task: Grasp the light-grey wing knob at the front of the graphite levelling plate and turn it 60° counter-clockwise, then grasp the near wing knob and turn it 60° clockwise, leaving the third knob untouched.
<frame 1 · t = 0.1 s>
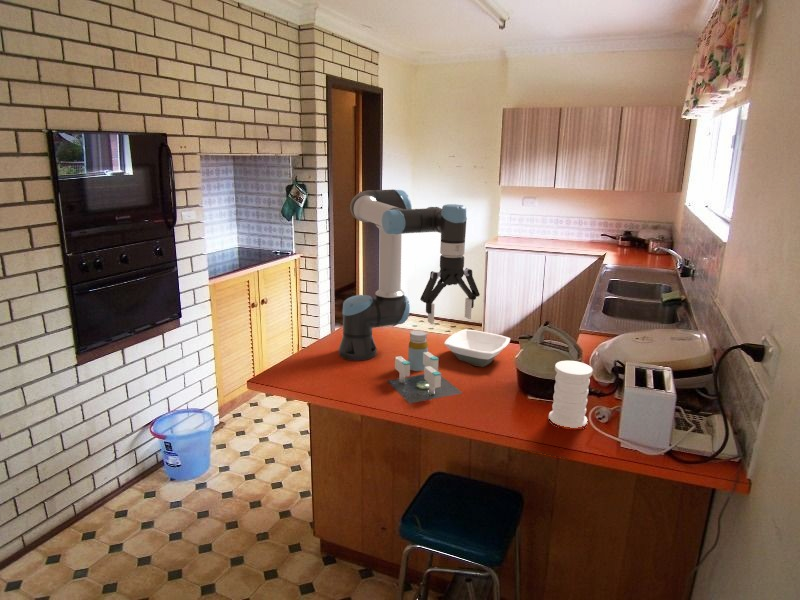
hand: (449, 320, 178), 28 cm above the worktop, fingers open, 13 cm apart
knob far: (430, 365, 198), point 6 cm above the worktop, hinge at 0.0°
bowl: (476, 361, 219), on the worktop
knob front: (432, 381, 185), point 6 cm above the worktop, hinge at 0.0°
decorative container: (567, 421, 172), on the worktop
bottle: (417, 370, 208), on the worktop
levelling plate: (423, 389, 192), on the worktop
knob near: (402, 370, 193), point 6 cm above the worktop, hinge at 0.0°
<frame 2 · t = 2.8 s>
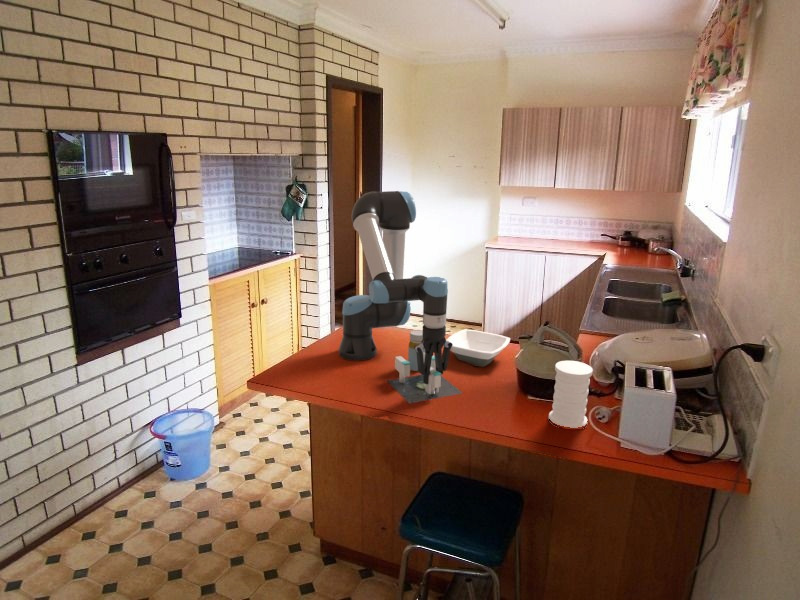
hand: (431, 391, 186), 2 cm above the worktop, fingers closed on knob front, 2 cm apart
knob front: (432, 381, 185), point 6 cm above the worktop, hinge at 0.0°, touching gripper
everything else where it was.
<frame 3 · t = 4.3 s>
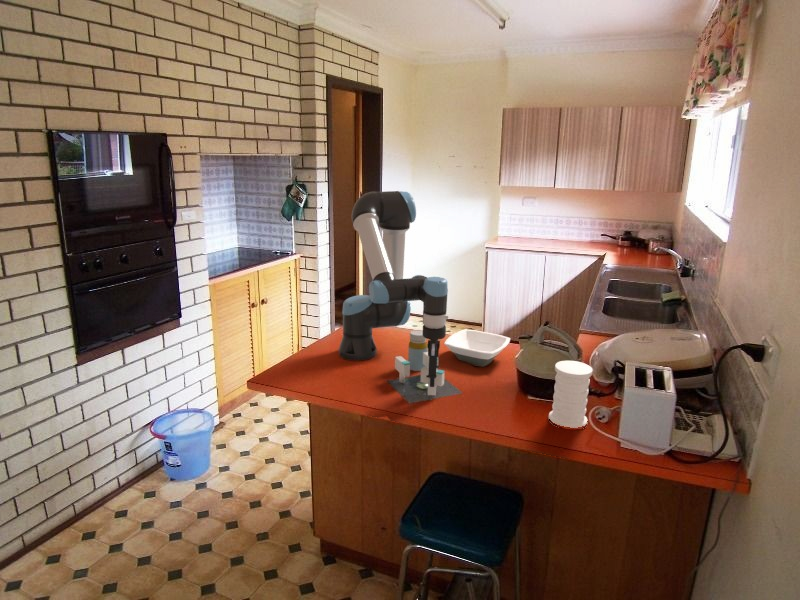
hand: (432, 390, 186), 2 cm above the worktop, fingers open, 5 cm apart
knob front: (432, 381, 185), point 6 cm above the worktop, hinge at 39.6°
everything else where it was.
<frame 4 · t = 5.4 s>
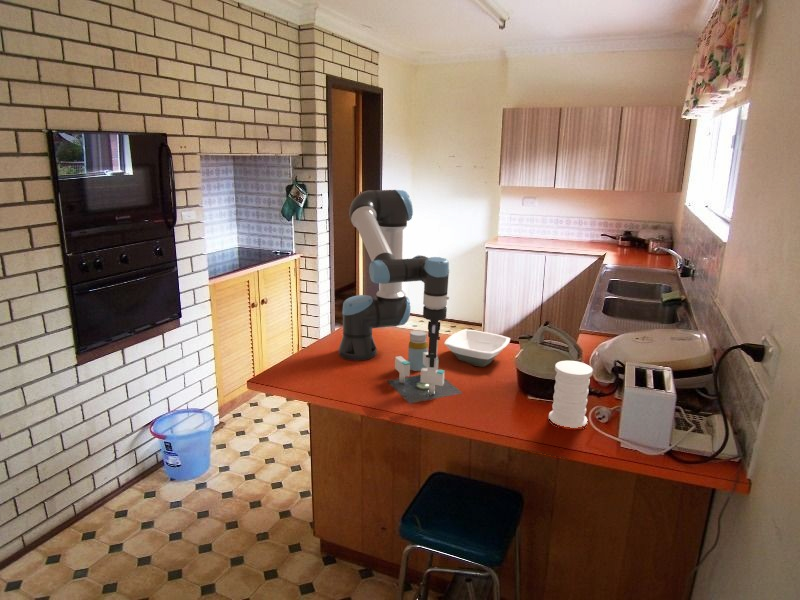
hand: (432, 366, 184), 11 cm above the worktop, fingers open, 13 cm apart
knob front: (432, 381, 185), point 6 cm above the worktop, hinge at 45.5°
everything else where it was.
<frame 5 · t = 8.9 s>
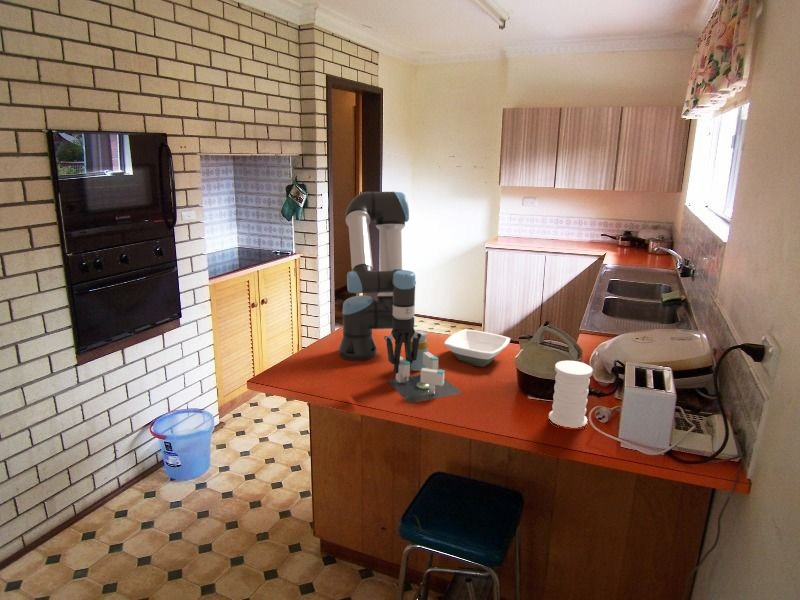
hand: (402, 380, 194), 2 cm above the worktop, fingers closed on knob near, 2 cm apart
knob front: (432, 381, 185), point 6 cm above the worktop, hinge at 46.4°
knob near: (402, 370, 193), point 6 cm above the worktop, hinge at 0.0°, touching gripper
everything else where it was.
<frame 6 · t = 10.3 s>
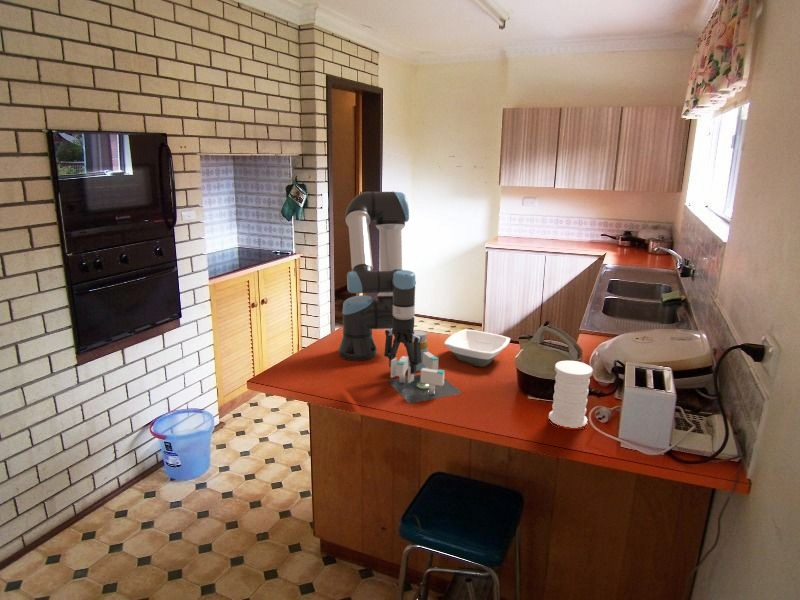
hand: (402, 378, 194), 3 cm above the worktop, fingers open, 7 cm apart
knob near: (402, 370, 193), point 6 cm above the worktop, hinge at -39.9°
everything else where it was.
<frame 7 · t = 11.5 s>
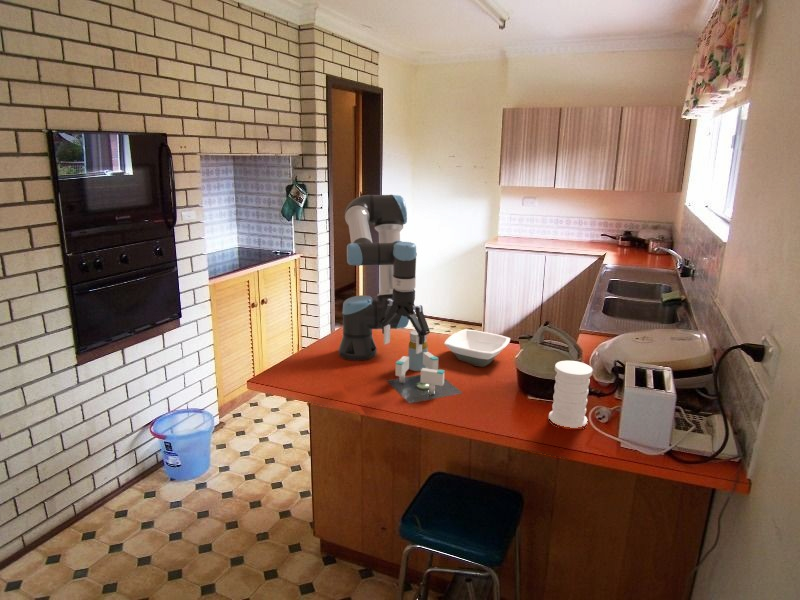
hand: (402, 347, 191), 14 cm above the worktop, fingers open, 13 cm apart
knob near: (402, 370, 193), point 6 cm above the worktop, hinge at -45.2°
everything else where it was.
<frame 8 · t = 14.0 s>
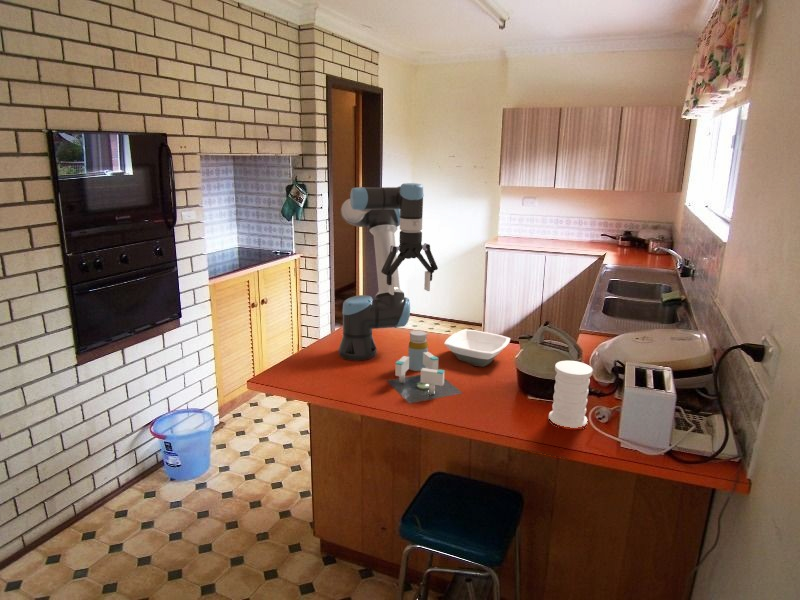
hand: (409, 292, 191), 33 cm above the worktop, fingers open, 13 cm apart
knob near: (402, 370, 193), point 6 cm above the worktop, hinge at -45.8°
everything else where it was.
at the end: knob front at +46° (first picture: +0°); knob near at -46° (first picture: +0°); knob far at +0° (first picture: +0°) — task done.
